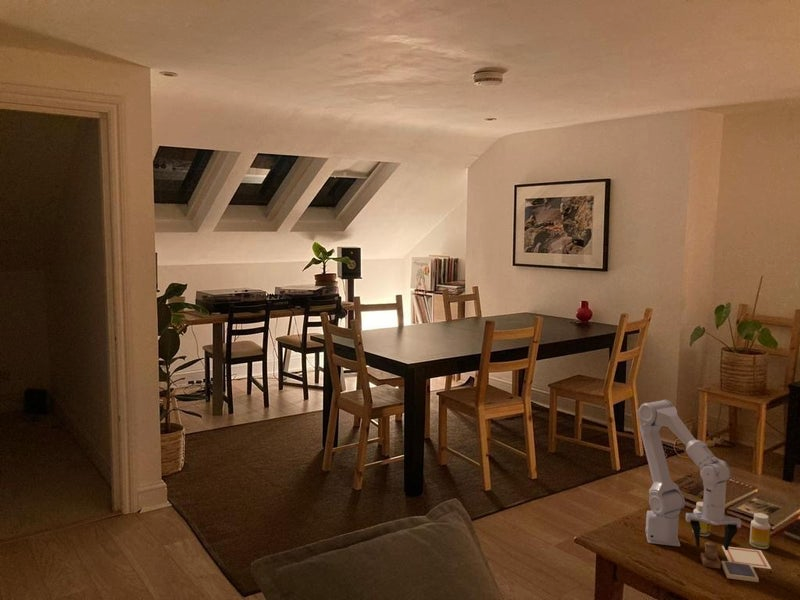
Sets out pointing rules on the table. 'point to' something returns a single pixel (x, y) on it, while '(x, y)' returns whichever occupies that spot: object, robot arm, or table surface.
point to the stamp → (710, 556)
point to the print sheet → (747, 557)
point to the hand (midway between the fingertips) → (711, 546)
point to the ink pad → (739, 571)
